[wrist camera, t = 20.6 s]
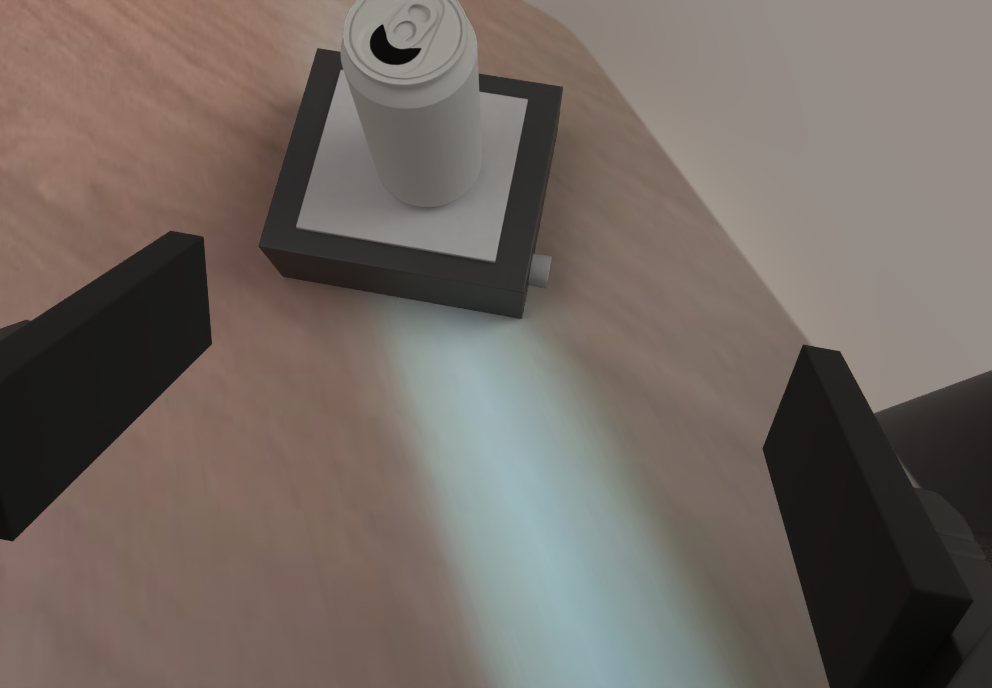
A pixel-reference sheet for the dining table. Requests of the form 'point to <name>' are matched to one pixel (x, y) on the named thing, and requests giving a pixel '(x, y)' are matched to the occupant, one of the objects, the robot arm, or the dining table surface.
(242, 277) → the dining table surface
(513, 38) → the dining table surface
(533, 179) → the cup warmer
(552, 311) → the dining table surface
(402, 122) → the beverage can
